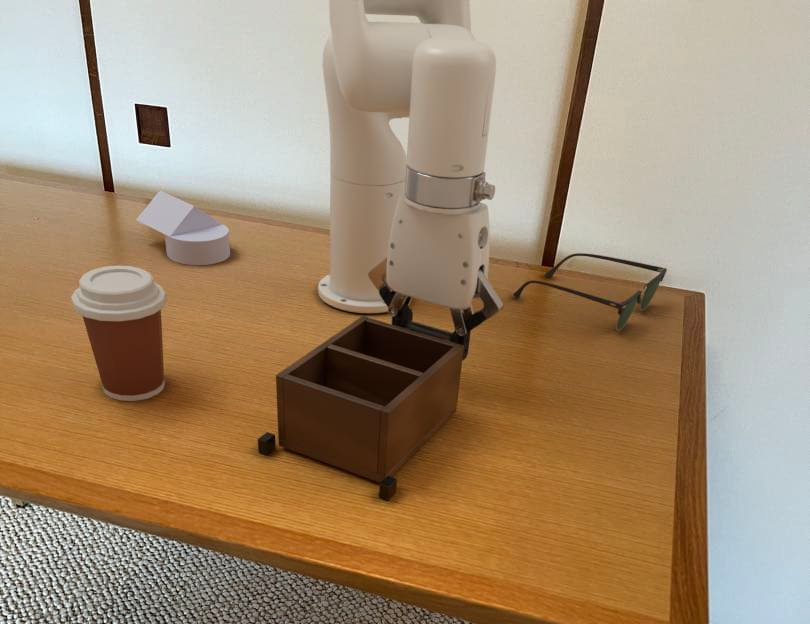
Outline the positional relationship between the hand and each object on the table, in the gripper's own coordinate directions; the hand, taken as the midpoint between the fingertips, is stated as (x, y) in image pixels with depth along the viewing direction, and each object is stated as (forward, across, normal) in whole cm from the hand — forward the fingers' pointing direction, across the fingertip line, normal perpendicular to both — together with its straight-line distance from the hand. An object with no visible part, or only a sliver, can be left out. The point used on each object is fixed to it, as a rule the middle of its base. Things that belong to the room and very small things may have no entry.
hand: (428, 353), depth 91 cm
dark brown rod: (+4, 0, +21) cm, 21 cm away
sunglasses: (+4, -8, -33) cm, 34 cm away
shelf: (+3, 0, +10) cm, 10 cm away
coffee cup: (+4, +26, +19) cm, 32 cm away
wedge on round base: (+4, +47, -16) cm, 50 cm away
